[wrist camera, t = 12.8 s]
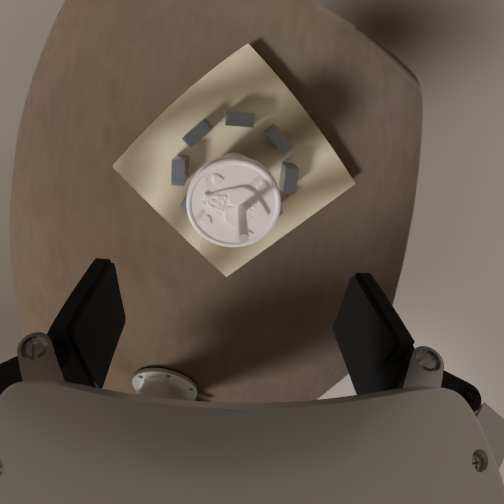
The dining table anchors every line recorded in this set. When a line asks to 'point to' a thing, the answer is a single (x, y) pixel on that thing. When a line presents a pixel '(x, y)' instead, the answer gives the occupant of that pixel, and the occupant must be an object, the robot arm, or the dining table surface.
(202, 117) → the socket plate
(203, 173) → the smoothie
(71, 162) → the dining table surface
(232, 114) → the grey blocks
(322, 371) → the dining table surface
